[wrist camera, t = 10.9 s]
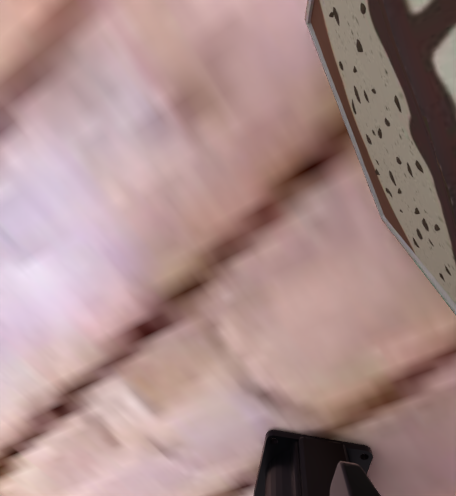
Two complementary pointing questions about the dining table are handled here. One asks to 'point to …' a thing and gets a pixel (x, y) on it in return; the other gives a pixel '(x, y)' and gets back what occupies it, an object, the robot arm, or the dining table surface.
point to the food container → (399, 115)
